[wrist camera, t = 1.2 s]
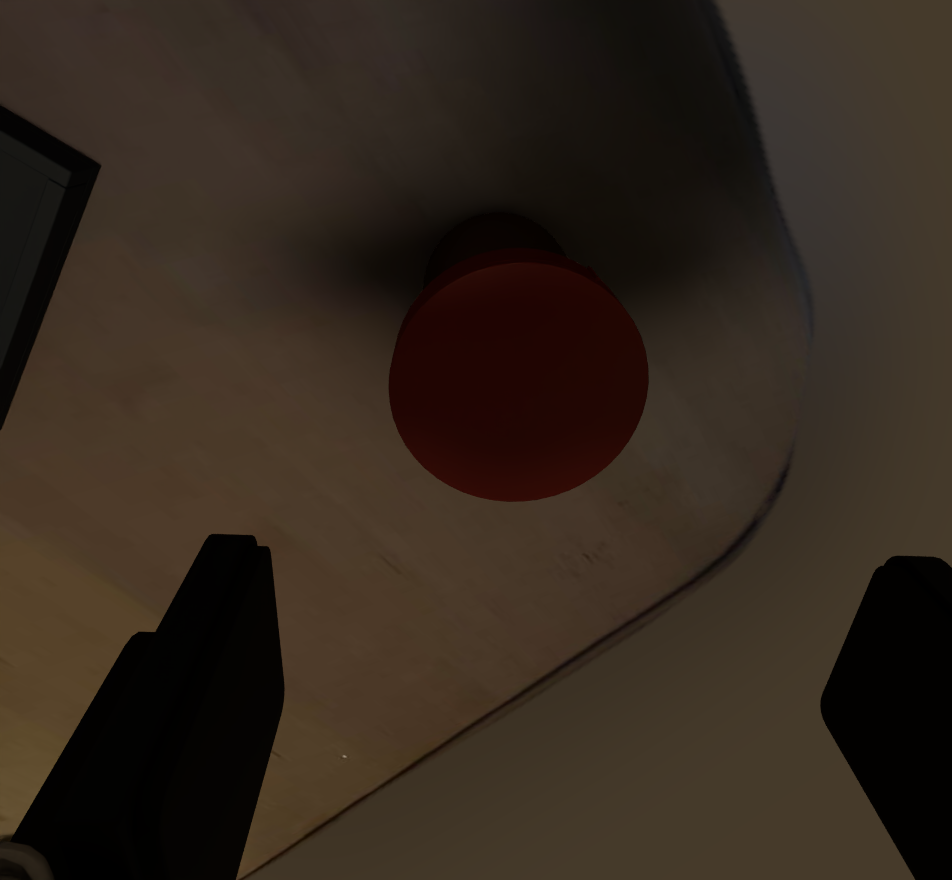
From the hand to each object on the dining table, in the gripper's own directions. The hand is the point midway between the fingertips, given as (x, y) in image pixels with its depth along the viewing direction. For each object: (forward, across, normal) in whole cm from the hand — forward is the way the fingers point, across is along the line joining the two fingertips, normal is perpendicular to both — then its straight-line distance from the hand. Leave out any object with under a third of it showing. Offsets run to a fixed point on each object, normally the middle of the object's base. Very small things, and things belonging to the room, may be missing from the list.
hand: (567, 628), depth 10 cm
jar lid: (+9, 0, 0) cm, 9 cm away
